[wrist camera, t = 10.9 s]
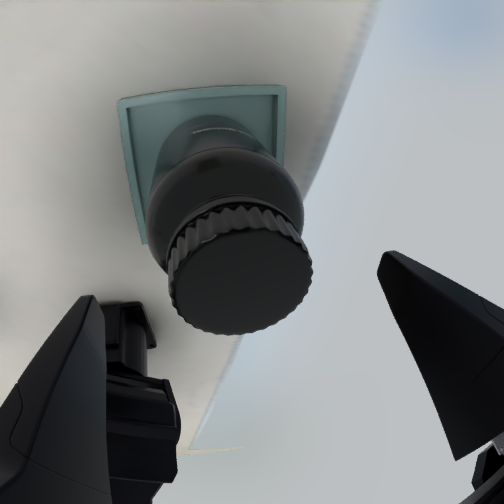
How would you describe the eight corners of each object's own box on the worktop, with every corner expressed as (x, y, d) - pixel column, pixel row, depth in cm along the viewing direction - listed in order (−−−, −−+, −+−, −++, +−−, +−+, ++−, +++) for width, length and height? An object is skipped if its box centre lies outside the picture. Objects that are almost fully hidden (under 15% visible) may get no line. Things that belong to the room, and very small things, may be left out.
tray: (274, 215, 23) (280, 226, 22) (143, 232, 21) (142, 244, 20) (278, 85, 17) (286, 87, 16) (121, 98, 15) (116, 101, 14)
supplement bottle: (229, 93, 16) (308, 145, 7) (274, 177, 21) (361, 297, 11) (135, 151, 17) (92, 274, 8) (190, 225, 21) (213, 372, 12)
